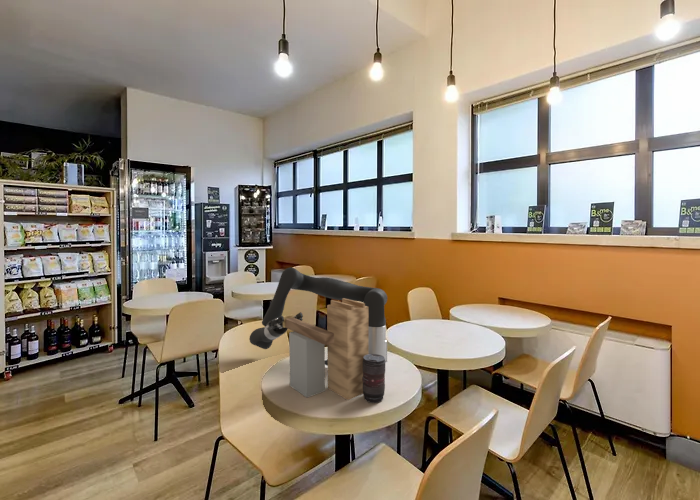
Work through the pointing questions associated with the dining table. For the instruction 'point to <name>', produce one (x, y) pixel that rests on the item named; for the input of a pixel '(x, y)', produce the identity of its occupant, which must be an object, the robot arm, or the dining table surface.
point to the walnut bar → (308, 330)
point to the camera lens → (373, 377)
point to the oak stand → (347, 346)
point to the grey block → (306, 364)
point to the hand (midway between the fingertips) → (292, 316)
